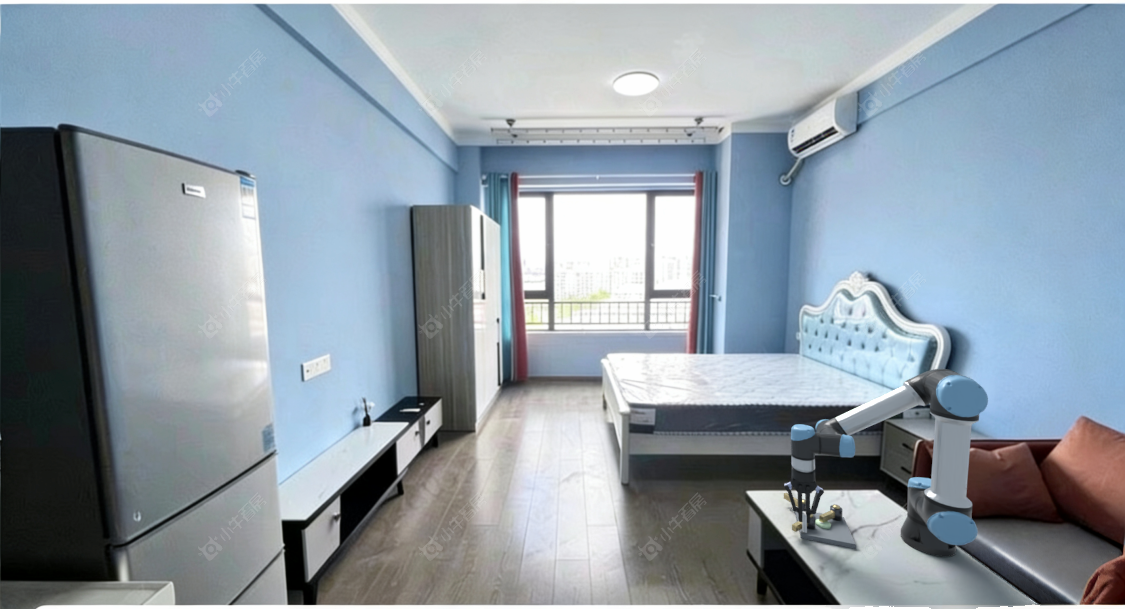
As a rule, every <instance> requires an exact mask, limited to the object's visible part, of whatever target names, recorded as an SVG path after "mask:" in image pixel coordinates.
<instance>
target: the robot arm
mask: <svg viewBox="0 0 1125 609" xmlns="http://www.w3.org/2000/svg"><path fill="white" fill-rule="evenodd" d="M988 404H989V397H988V394H987V392H986V390H985V388H984V387H983V386H981V384H980V383H978V382H977V381H975V380H974V379H972V378H970V377H967V376H965V375H963V374H960V373H959V372H956V371H953V370H951V369H948V368H947V369H946V368H935V369H931V370H927V371H924V372H922V373H920V374H918V375H915V376H913V377H910V378H909V379H907V380H904V381H903V383H902V385H900V387H897V388H895V389H892V390H891V391H889V392H886V393H885V394H882V395H880V396H878V397H875V398H874V399H871V400H869V401H867V402H866V403H865V402H864V403H863V404H861V405H859V406H857V407H854V408H853V409H850V410H849V411H845V412H844V413H842V414H839V415H837V416H836V417H833V418H831V419H826V418H825V419H820V420H818V421H817V422H816V424H815V428H814V427H813V426H810V425H807V424H803V423H802V424H799V423H798V424H794V425H793V426H792V427H791V430H790V450H791V452H790V453H791V454H790V455H791V462H790V463H791V478H790V481H789V482H783V485H784V489H785V490H786V493H788V494H789V498H790V501H791V502H790V504H791V507H792V511H793V512H794V513H795V512H798V519H799V522H802V531H803V532H805V533H807V523H810V515H811V514H816V513H817V510H818V508H819V503H820V500H821V497H822V496H823V495H824V493H825V491H824V489H823V487H822V486H821V487H820V486H819V485H818V484H817V482H816V457H815V456H816V455H823V456H831V457H839V458H854V456H855V454H856V443H855V439H854V437H853V436H851V435H854V434H856V433H858V432H861V431H863V430H865V429H866V428H869V427H871V426H873V425H874V426H875V425H876V424H879V423H881V422H883V421H885V420H888V419H890V418H892V417H894V416H896V415H899V414H902V413H903V412H905V411H908V410H910V409H913V408H915V407H917V406H923V407H926V406H927V405H929V414H931V415H932V416H933V417H934V419H935V420H934V434H933V449H932V464H931V474H930V476H931V478H929V477H920V476H918V477H917V476H915V477H910V478H909V479H908V482H907V509H906V510H907V511H906V512H907V513H906V515H907V516H906V517H905V520H904V522H903V524H902V526H901V528H900V538H901V539H902V541H903V542H905V543H906V544H907V545H908V546H910V547H912V548H913V549H915V550H918V551H920V552H923V553H925V554H928V555H932V556H936V557H947V558H948V557H953V556H954V555H956V553H957V546H964V545H967V544H969V543H972V542H974V540H975V539H976V538H977V537H978V534H979V533H978V532H979V529H978V527H977V525H976V522H975V521H974V520H973V518H972V513H973V502H972V501H971V500H970V499H969V498H968V497H967V490H968V477H969V466H970V465H969V464H970V452H971V437H972V426H973V425H974V424H975V423H978V422H979V421H980V414H981V413H982V412H984V411H985V410H986V408H987V407H988ZM793 488H794V490H795V491H796V492H797V499H798V507H797V506H796V505H795V501H794V498H795V497H794V495H793V492H792V489H793ZM814 491H815V493H814V497H813V501H812V504H811V494H812V493H813V492H814ZM803 495H804V499H805V510H806V512H804V511H802V499H803ZM793 497H794V498H793Z"/></svg>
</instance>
